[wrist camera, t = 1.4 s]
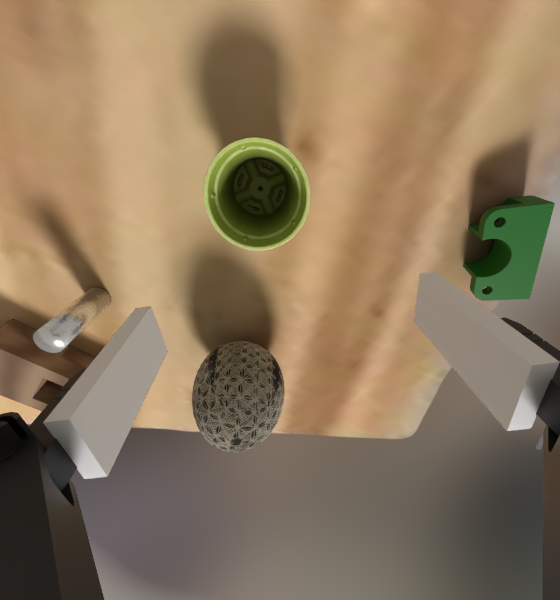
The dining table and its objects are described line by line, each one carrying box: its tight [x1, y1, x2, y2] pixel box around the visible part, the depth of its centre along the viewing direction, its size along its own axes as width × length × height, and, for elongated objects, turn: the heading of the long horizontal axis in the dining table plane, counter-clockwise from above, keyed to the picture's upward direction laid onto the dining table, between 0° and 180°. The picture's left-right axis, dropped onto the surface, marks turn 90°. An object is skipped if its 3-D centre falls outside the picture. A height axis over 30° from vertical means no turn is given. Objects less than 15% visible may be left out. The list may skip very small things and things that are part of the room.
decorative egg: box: [192, 341, 284, 452], centre depth 37 cm, size 12×12×15 cm
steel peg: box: [33, 287, 111, 353], centre depth 34 cm, size 3×3×10 cm
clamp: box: [463, 196, 555, 300], centre depth 35 cm, size 12×6×9 cm, turn 2°
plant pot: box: [204, 137, 310, 250], centre depth 29 cm, size 9×9×9 cm
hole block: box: [0, 319, 95, 411], centre depth 42 cm, size 20×8×5 cm, turn 52°
